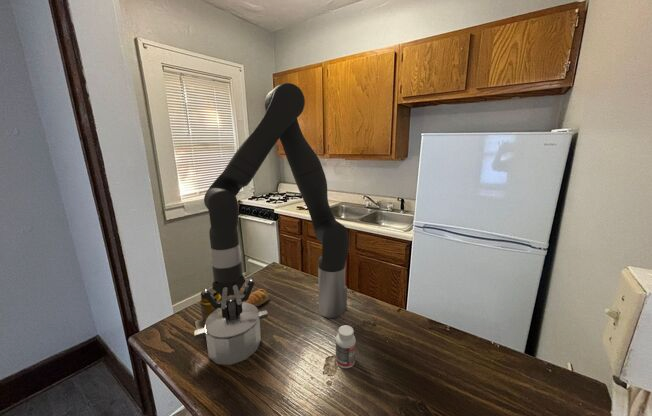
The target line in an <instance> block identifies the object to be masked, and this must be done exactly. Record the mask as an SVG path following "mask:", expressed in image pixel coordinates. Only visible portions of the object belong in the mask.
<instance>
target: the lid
mask: <svg viewBox="0 0 652 416" xmlns="http://www.w3.org/2000/svg"><path fill="white" fill-rule="evenodd" d="M236 301H237V300H236V297H235V296H234V297H229V298H228V297H227V301H226V307H227V313H228V319H227V320H225V318H223V317H222V310H221V308H218V309H216V310H215V311H213V312H212V313H211V314H210V315H209V316H208V318H207V320H206V322H205V327H206V331H207V332H208V334H210V335H211V336H214V337H217V338H229V337H234V336H237V335H240V334H242V333H244V332H246V331H248V330H249V329H251V328H252V327H253V326H254V325H255V324H256V322H257V320H258V318H259V312H260V311H259V309H258V306H254V305H253V304H250V303H246V302H242V313H241V314H240V316H238V313H237V302H236Z"/></svg>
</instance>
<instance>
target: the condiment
mask: <svg viewBox="0 0 652 416" xmlns="http://www.w3.org/2000/svg"><path fill="white" fill-rule="evenodd" d="M206 288H207V289H208V288H209V287H206ZM213 293H214V294H213V296H214V297H215V298H216V299H217V301H221V295H220V294H219V293H217V292H216V291H215V290H214V291H213ZM200 299H201V300H200V309H201V318H202V319H199V320H195V321H194V322H195V323H194V324H195V329H196V330H199V329H202V328H205V322H206V320H207V318H208V316H209V315H210V314H211V313H212V312H213V311H215V310H216V309H214V307H213V306H212V305H211V304H210V303H209V301H208V300H207V299H206V298H205V297H204V289H202V291H201V292H200ZM217 309H218V308H217Z"/></svg>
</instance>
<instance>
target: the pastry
mask: <svg viewBox="0 0 652 416" xmlns="http://www.w3.org/2000/svg"><path fill="white" fill-rule="evenodd" d="M269 299H270V295H269V294H268V292H267V290H265V289H264V288H259V289H258V290H256V291H253V292H251V293H250V296H249V298H248V300H247V301H244V302H246V303H250V304H253V305H254V306H256V307H260V306H261V305H262V304H264V303H266V302H268V300H269Z"/></svg>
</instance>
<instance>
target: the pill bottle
mask: <svg viewBox="0 0 652 416" xmlns="http://www.w3.org/2000/svg"><path fill="white" fill-rule="evenodd" d="M354 332H355V331H354V328H353V327H352V326H351V325H345V324H344V325H341V326H340V327H338V333H337V334H336V336H335V354H334V355H335V362H336V365H337V366H338V367H339V368H342V369H350V368H353V366H354V365H355V362H356V348H357V347H356V343H357V340H356V336H355V335H354Z"/></svg>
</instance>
